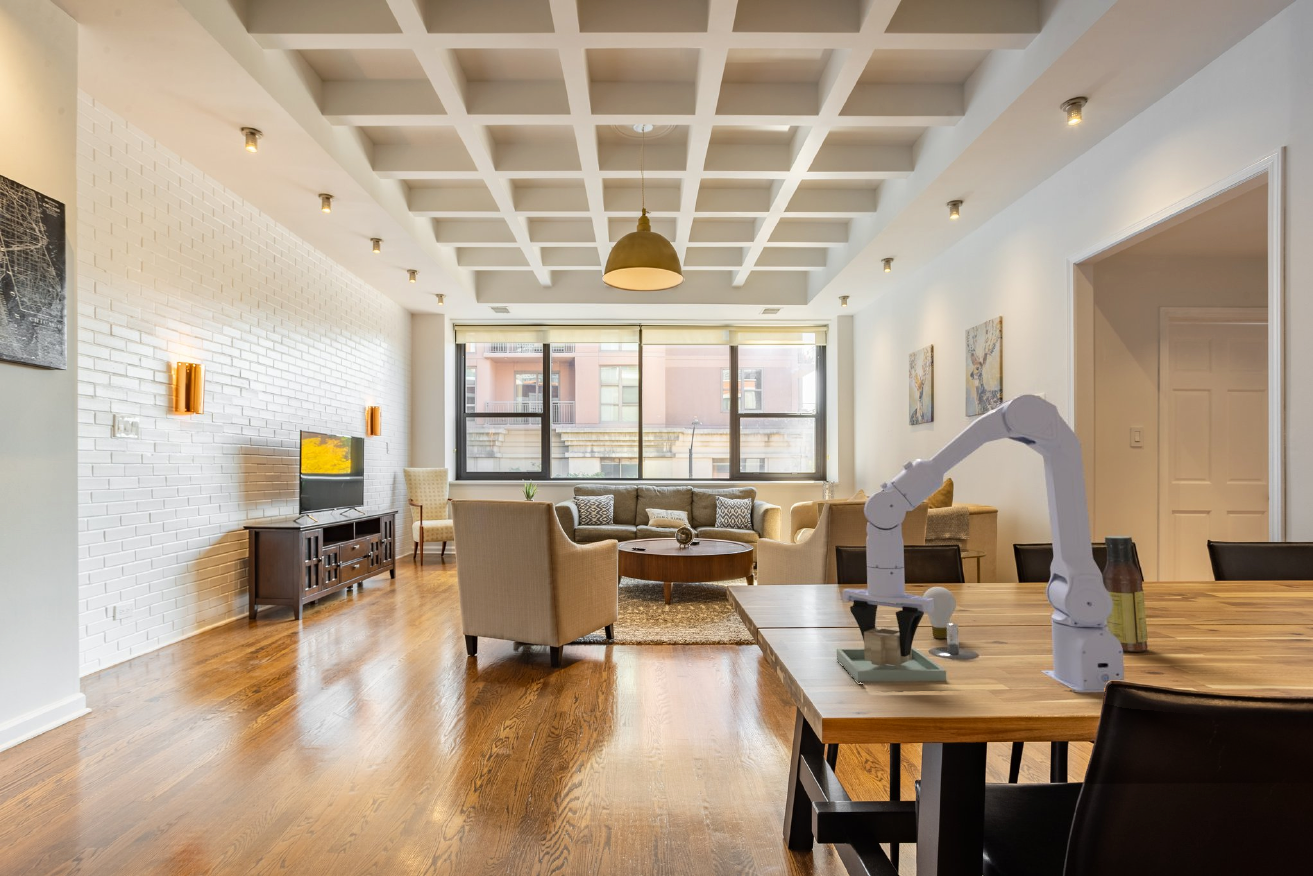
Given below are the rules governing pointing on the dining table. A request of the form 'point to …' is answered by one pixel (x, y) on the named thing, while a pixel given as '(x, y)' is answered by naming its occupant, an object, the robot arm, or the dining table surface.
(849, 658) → the tray
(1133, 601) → the sauce bottle
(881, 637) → the beige hollow block
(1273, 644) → the dining table surface
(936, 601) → the light bulb
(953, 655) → the grey metal round stand
